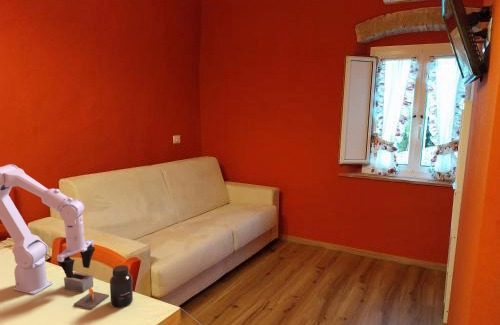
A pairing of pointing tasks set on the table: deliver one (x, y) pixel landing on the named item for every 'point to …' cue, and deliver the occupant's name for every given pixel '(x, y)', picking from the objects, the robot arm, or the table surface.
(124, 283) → the supplement bottle
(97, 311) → the table surface
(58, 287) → the table surface
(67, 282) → the hollow rectangular frame
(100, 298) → the keeper
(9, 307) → the table surface
